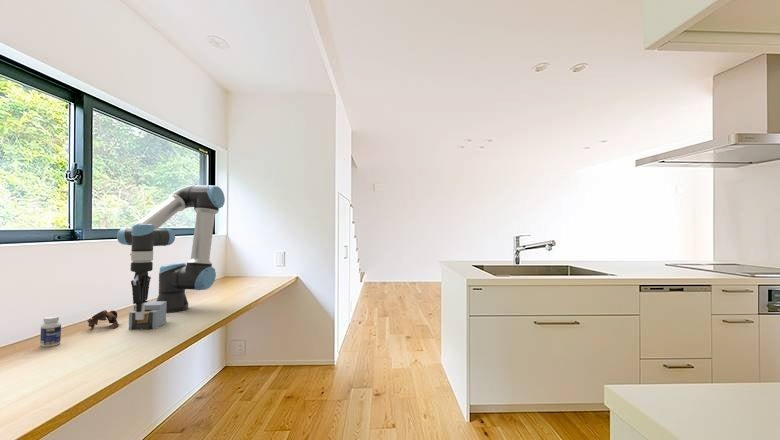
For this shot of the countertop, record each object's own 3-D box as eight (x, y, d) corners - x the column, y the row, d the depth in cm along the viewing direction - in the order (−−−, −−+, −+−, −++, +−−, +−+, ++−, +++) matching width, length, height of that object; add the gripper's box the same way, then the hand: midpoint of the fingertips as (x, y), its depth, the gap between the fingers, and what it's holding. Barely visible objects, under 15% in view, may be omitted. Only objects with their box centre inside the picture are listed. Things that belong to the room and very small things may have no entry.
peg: (148, 316, 166) (148, 307, 166) (158, 316, 167) (158, 307, 167) (136, 323, 154) (136, 313, 154) (147, 323, 155) (147, 313, 155)
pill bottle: (44, 348, 130) (45, 320, 130) (37, 345, 132) (38, 318, 132) (63, 343, 135) (64, 316, 135) (55, 341, 137) (56, 314, 137)
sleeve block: (141, 322, 166) (141, 301, 166) (166, 321, 168) (166, 301, 168) (128, 329, 153) (128, 307, 154) (155, 328, 156) (155, 307, 156)
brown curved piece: (113, 331, 152) (100, 315, 150) (91, 341, 152) (78, 325, 150) (128, 317, 164) (117, 301, 162) (109, 326, 164) (97, 311, 162)
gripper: (138, 260, 159) (136, 315, 158) (124, 262, 146) (121, 323, 146) (158, 260, 160) (156, 315, 160) (145, 263, 148) (143, 323, 147)
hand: (139, 319), depth 153 cm, fingers closed
